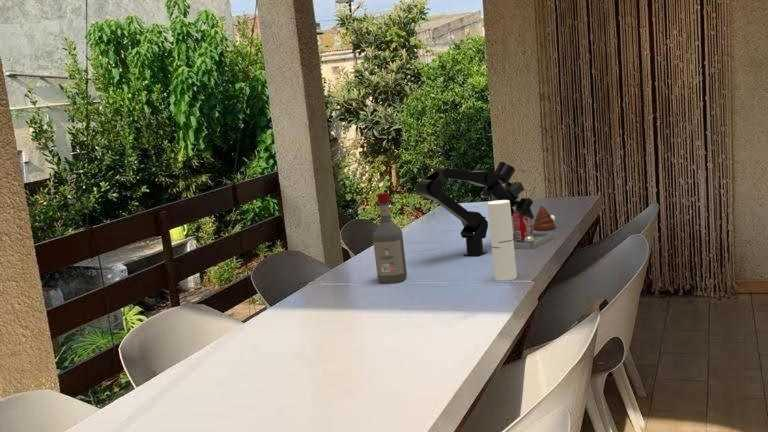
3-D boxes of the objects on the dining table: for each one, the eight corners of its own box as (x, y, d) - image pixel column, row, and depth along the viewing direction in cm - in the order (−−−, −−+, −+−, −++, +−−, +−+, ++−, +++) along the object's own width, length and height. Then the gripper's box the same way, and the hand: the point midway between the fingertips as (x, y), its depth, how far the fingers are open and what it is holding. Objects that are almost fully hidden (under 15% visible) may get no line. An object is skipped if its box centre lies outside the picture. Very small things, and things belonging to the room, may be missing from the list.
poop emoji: (528, 229, 351) (526, 207, 349) (545, 225, 354) (544, 203, 353) (543, 232, 342) (541, 209, 340) (560, 228, 345) (558, 205, 344)
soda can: (535, 237, 329) (532, 207, 327) (531, 241, 323) (528, 210, 321) (517, 238, 332) (514, 208, 330) (512, 242, 326) (510, 211, 324)
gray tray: (532, 248, 314) (532, 243, 313) (494, 247, 323) (494, 242, 323) (553, 238, 328) (553, 233, 328) (516, 237, 337) (516, 232, 337)
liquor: (403, 282, 286) (393, 194, 281) (377, 284, 288) (366, 196, 283) (408, 276, 294) (398, 190, 290) (382, 277, 296) (372, 192, 292)
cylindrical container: (516, 280, 272) (509, 203, 268) (493, 281, 274) (486, 204, 270) (517, 274, 279) (510, 199, 275) (495, 275, 280) (488, 201, 276)
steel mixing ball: (531, 246, 316) (531, 236, 315) (523, 245, 318) (522, 236, 317) (536, 243, 318) (535, 234, 318) (527, 243, 321) (526, 234, 320)
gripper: (527, 177, 314) (551, 201, 321) (494, 175, 329) (519, 198, 337) (512, 201, 311) (537, 225, 318) (480, 198, 327) (505, 221, 334)
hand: (525, 217), depth 327 cm, fingers open, 9 cm apart
